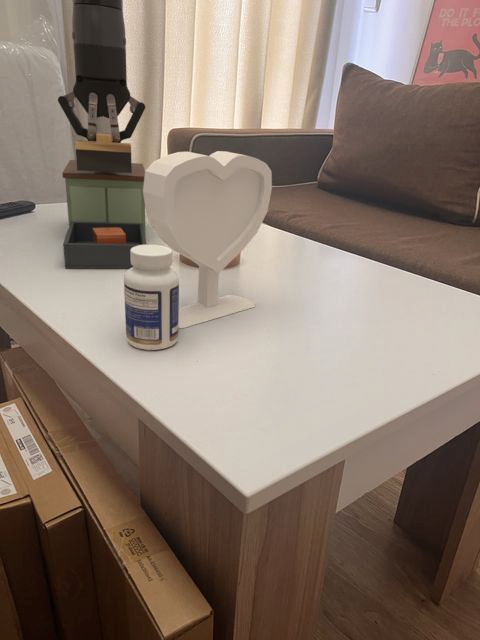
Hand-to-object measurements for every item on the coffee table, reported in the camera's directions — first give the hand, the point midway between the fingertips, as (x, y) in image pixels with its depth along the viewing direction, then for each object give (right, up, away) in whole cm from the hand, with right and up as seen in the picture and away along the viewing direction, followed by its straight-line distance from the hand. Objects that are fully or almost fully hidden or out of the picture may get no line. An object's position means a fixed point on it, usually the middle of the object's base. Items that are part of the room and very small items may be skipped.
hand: (105, 164), depth 86 cm
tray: (+2, -16, -6) cm, 17 cm away
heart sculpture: (+19, -26, -22) cm, 39 cm away
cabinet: (-1, -9, +7) cm, 12 cm away
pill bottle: (+14, -29, -31) cm, 45 cm away
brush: (0, -1, -2) cm, 2 cm away
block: (+4, -16, -11) cm, 20 cm away
